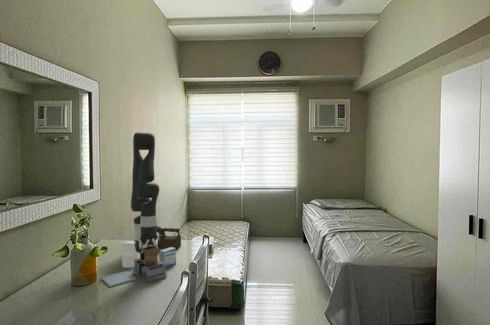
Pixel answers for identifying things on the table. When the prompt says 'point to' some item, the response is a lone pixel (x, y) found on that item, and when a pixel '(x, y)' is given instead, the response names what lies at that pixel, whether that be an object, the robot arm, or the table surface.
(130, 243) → the white tapered container
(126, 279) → the slate mat
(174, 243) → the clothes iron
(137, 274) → the vise
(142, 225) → the robot arm
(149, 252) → the walnut collar
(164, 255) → the medicine box
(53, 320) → the table surface
